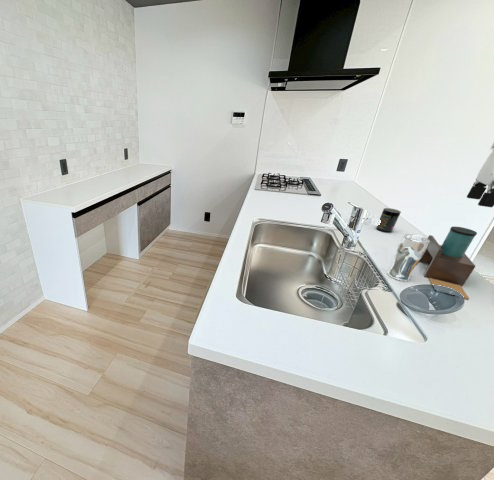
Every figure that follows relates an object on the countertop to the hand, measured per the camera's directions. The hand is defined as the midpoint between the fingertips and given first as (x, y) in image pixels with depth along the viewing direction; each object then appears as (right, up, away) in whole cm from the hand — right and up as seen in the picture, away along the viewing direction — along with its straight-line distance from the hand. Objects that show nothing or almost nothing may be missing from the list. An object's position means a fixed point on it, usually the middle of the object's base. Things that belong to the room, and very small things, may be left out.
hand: (478, 202), depth 82 cm
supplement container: (+7, -7, +46) cm, 48 cm away
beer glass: (-18, -25, +9) cm, 32 cm away
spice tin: (0, -17, +8) cm, 19 cm away
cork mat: (-7, -28, +3) cm, 29 cm away
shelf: (-1, -24, +12) cm, 27 cm away
